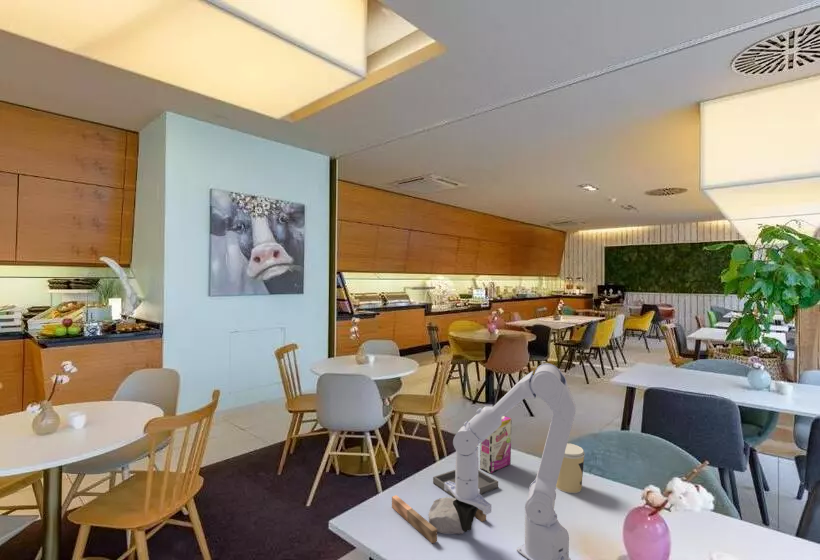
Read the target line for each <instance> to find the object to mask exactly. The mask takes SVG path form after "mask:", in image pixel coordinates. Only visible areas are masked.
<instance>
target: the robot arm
mask: <svg viewBox="0 0 820 560" xmlns="http://www.w3.org/2000/svg"><path fill="white" fill-rule="evenodd" d="M536 396H537V397H538V398H539V399H541V400H542V401H543V402H545V403H546V404H547V405H548V407H549V409H550V410H551V411H552V415H551V419H550V420H551V421H550V424H549V429H548V432H547V436H546V439H545V444H544V447H543V451H542V456H541V459H540V461H539V466H538V470H537V474H536V476H535V479H534V480H533V481H532V482H531V483H530V485H529V488H528V495H527V499H526V502H525V505H524V510H525V511H524V543H523V544H522V545H520V546H519V547H517V548H516V551H517V552H518V553H519V554H520V555H522V556H524V558H526V559H527V560H571V559H572V558H571V557H570V556H569V555H570V552H569V551H570V548H569V547H570V542H569V541H570V537H569V536H570V535H569V531H568V529H566V527H564V526H563V525H562V524H561V522H559V519H558V514H557V513H556V510H555V504H556V503H555V502H556V498H557V493H556V489H557V487H556V484H557V480H558V477H559V473H560V469H561V465H562V461H563V458H564V454H565V450H566V446H567V443H568V442H569V438H570V435H571V430H572V427H573V423H574V420H575V419H574V418H575V417H576V416H575V415H576V410H577V409H576V407H577V406H576V404H575V401H574V398H573V395H572V393H571V390H570V387H569V385H568V381H567V379H566V376H565V375H564V374H563V373H562V371H561V370H560V369H559V368H558V366H555V364H552V363H542V364H540V365H539V366H537V368H536V369H535V371H534V370H532V371H530V372H529V373H527V374H526V375H525V376H523V377H522V378H520V380H518V382H517V383H515V385H514V386H513V387H511V389H510V390H508V391H507V392H506V394H504V396H502V397H501V398H500V399H499V400H498V401H497V402H496V403H495V404H494V405H493V406H488V405H486V406H484V407H483V408H482V407H479V408H478V409H477V410H476V411H475V413H476V414H475V415H474V416H473V417H471V419H469V421H468V420H466V421H465V422H464V423H463V426H461V427H460V428H459V429H458V431H457V432H456V434H455V435H454V436H453V440H452V445H453V447H454V449H455V466H454V467H455V468H454V470H455V483H454V482H451V481H448V482H445V483H444V490H445V491H450V492H451V493H452V494H453V495H454V496H455V498H456V500H454V501H453V505H454V507H455V509H456V511H457V513H458V516H459V519H460V523H461V528H462V530H463V531H464V533H466V532H469V531H470V530H471V529H472V525H473V522H474V518H475V517H474V516H475V514H476V512H477V510H478V509H480V510H482V511H483V514H485V515H486V516H487V515H489V514H491V513H492V504H491V503H490V502H489V501H488V500H487V499H485V497H484V496H483V494H480V489H478V470H479V447H478V446H479V445H480V444H481V442H483V441H484V440H485V439H486V438H488V437H489V436H490V435H491V434H492V433H493V432H494V431H495V430H497V429H498V428H499V427H500V426H501V424H502V417H503V416H506V414H507V413H509V412H510V411H511V410H512V409H514V408H515V407H516V406H517V405H518V404H519V403H521V402H522V401H523V400H525V399H530V400H533V399H534V400H535V399H536ZM444 490H443V491H444ZM445 491H444V492H445Z"/></svg>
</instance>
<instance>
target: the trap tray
mask: <svg viewBox="0 0 820 560" xmlns="http://www.w3.org/2000/svg"><path fill="white" fill-rule="evenodd" d="M432 480H433V481H432V484H434V485H435V486H436V487H438V488H439V489H441V490H442V491H443V492H446V493H447V494H448V495H449V496H451V498H455V496H454V495H453V494H452V493H451V492H450V491H445V490H444V483H445V482H448V481H451V482H454V483H455V469H453V470H451V471H447V472H443V473H441V474H438V475H435V476H433V477H432ZM498 488H499V481H498V480H496V479H495V478H493V477H491V476H489V475H488V474H486V473H484V472H483V471H481V470H479V469H478V489H480V494H481V495H483V494H486V493H489V492H491V491H493V490H496V489H498Z"/></svg>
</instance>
